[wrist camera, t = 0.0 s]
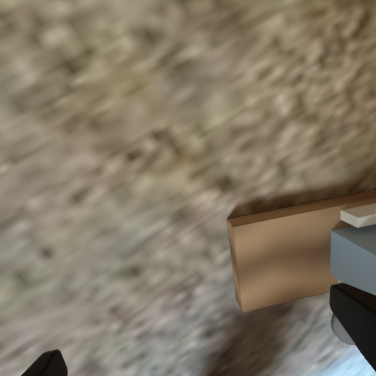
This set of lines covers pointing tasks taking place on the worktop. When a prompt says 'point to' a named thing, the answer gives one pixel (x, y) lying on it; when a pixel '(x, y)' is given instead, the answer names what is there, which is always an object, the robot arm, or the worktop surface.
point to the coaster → (340, 331)
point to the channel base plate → (287, 250)
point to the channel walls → (359, 216)
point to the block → (354, 256)
